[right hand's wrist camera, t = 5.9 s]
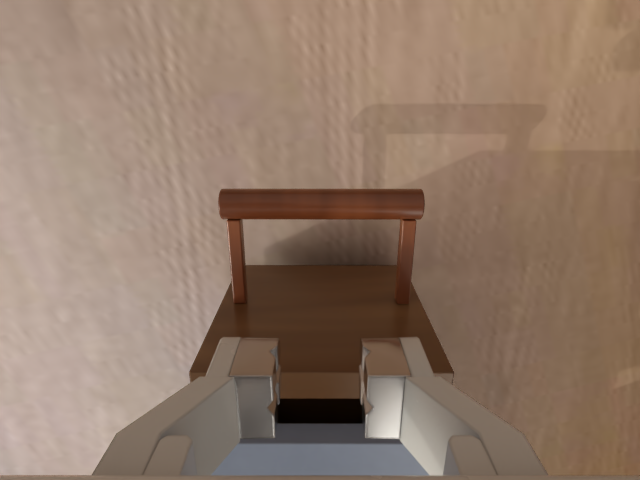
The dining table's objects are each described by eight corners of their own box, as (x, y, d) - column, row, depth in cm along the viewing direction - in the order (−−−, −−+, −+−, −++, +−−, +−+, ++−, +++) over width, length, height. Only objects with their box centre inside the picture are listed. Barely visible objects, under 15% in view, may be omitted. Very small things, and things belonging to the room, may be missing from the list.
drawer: (231, 170, 21) (168, 227, 12) (411, 170, 21) (474, 228, 12) (256, 499, 30) (229, 672, 21) (384, 500, 30) (411, 672, 21)
